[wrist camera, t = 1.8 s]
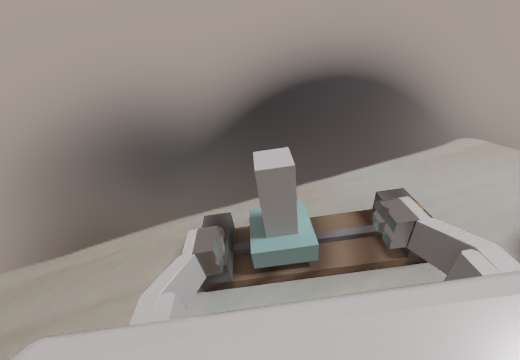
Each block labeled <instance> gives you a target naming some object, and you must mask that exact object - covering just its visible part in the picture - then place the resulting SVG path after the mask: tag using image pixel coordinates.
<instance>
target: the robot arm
mask: <svg viewBox="0 0 520 360" xmlns="http://www.w3.org/2000/svg"><path fill="white" fill-rule="evenodd" d="M374 207H375V209H376V211H375V212H374V213H373V217H372V219H373V224H374V227H375V229H376V230H377V232H379V233H381V234H383V236H382V239H383V241H384V242H385V244H386V245H387V247H388V248H389V249H395V248H403V247H407V248H408V249H409V250H411V251H412V252H414V253H415V254H417V255H418V256H420V257H421V258H423V259H424V260H426V261H427V262H429V263H430V264H432V265H433V266H435V267H436V268H438V269H439V270H441V271H442V272H444V273H445V274H447V277H446V278H445V280H444V281H441V282H434V283H427V284H420V285H413V286H406V287H398V288H391V289H384V290H377V291H370V292H363V293H356V294H349V295H341V296H334V297H327V298H320V299H313V300H306V301H299V302H292V303H284V304H277V305H270V306H263V307H256V308H249V309H241V310H234V311H227V312H220V313H213V314H206V315H198V316H190V315H189V313H188V312H187V310H186V308H187V307H188V305H189V304H190V302H191V301H192V299H193V297H194V296H195V294H196V293H197V291H198V290H199V288H200V287H201V285H202V284H203V282H204V280H205V279H206V276H211V275H216V274H222V273H223V266H224V261H223V258H222V257H223V255H224V254H225V245H224V239H223V237H222V236H221V235H220V229H219V226H212V227H204V228H198V229H190V230H189V231H188V232H187V236H186V240H185V243H184V247H183V250H182V254H181V256H178V257H177V258H176V259H175V260H174V261H173V262H172V263H171V264H170V265H169V267H168V268H167V269H166V270H165V271H164V272H163V273H162V274H161V275H160V276H159V277H158V278H157V279H156V280H155V281H154V282H153V283H152V284H151V285H150V286H149V287H148V289H147V290H146V291H145V292H144V293H143V294H142V295H141V296H140V299H139V301H138V304H137V306H136V309H135V311H134V314H133V317H132V319H131V322H130V324H129V325H126V326H119V327H112V328H105V329H98V330H91V331H83V332H76V333H69V334H61V335H54V336H47V337H42V338H39V339H36V340H34V341H32V342H31V343H29V344H28V345H27V346H25V347H24V348H23V349H21V350H20V351H19V352H17V353H16V354H15V355H14V356H12V357H11V358H10V359H9V360H520V263H519V262H518V261H516V260H515V259H514V258H513V257H512V256H511V255H509V254H508V253H507V252H506V251H505V250H503V249H502V248H501V247H500V246H499V245H497V244H495V243H493V242H490V241H488V240H485V239H483V238H481V237H478V236H476V235H474V234H471V233H469V232H466V231H464V230H462V229H459V228H457V227H455V226H452V225H450V224H447V223H445V222H443V221H440V220H438V219H435V218H432V219H431V218H430V217H429V216H428V215H427V214H426V213H425V212H424V211H423V210H422V209H421V208H420V207H419V206H418V205H417V204H416V203H415V202H414V201H413V200H412V199H411V198H410V197H408V196H406V197H400V198H394V199H388V200H382V201H377V202H376V203H375V206H374Z"/></svg>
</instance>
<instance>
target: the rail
mask: <svg viewBox="0 0 520 360" xmlns="http://www.w3.org/2000/svg"><path fill="white" fill-rule="evenodd" d="M406 196H408V197H410V198H411V199H412V200H413V201H414V202H415V203H416V204H417V205H418V206H419V207H420V208H421V209H422V210H423V211H424V212H425V213H426V214H427V215H428V216H429V217H430V218H431V219H432V218H433V217H432V216H431V215H430V214H429V213H428V212H427V211H426V210H425V209H424V208H423V207H422V206H421V205H420V204H419V203H418V202H417V201H416V200H415V199H414V198H413V197H412V196H411V195H410V194H409V193H408V192H407V191H406V190H405V189H404V188H400V189H393V190H386V191H379V192H376V195H375V200H374V204H373V209H370V210H363V211H356V212H349V213H341V214H334V215H327V216H320V217H312V218H310V221H311V224H312V226H313V229H314V232H315V235H316V238H317V241H318V244H319V256H318V260H317V261H309V262H302V263H294V264H287V265H279V266H272V267H264V268H257V269H254V265H253V261H252V257H251V245H250V226H248V227H240V228H235V227H234V223H233V220H232V216H231V213H223V214H216V215H208V216H204V221H203V225H202V228H204V227H212V226H219V229H220V235H221V236H222V237H223V239H224V245H225V254H224V255H223V257H222V258H223V261H224V266H223V273H222V274H216V275H211V276H206V279H205V280H204V282H203V284H202V287H203V289H204V291H205V292H207V291H214V290H222V289H229V288H237V287H244V286H252V285H260V284H267V283H275V282H282V281H290V280H297V279H305V278H312V277H320V276H328V275H335V274H343V273H350V272H358V271H365V270H373V269H381V268H388V267H396V266H403V265H411V264H418V263H426V262H427V261H426V260H424V259H423V258H421V257H420V256H418V255H417V254H415V253H414V252H412V251H411V250H409V249H408V248H407V247H403V248H395V249H389V248H388V247H387V245H386V244H385V242H384V241H383V239H382V236H383V234H381V233H379V232H377V230H376V229H375V227H374V224H373V219H372V217H373V213H374V212H375V211H376V209H375V207H374V206H375V203H376V202H377V201H382V200H388V199H394V198H400V197H406Z"/></svg>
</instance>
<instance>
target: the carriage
mask: <svg viewBox="0 0 520 360" xmlns="http://www.w3.org/2000/svg"><path fill="white" fill-rule="evenodd" d="M253 156H254V169H255V176H256V182H257V188H258V193H259V199H260V205H261V206H260V207H253V208H249V214H250V245H251V257H252V261H253V265H254V269H257V268H264V267H272V266H279V265H287V264H294V263H302V262H309V261H317V260H318V256H319V244H318V241H317V238H316V235H315V232H314V229H313V226H312V224H311V221H310V218H309V215H308V212H307V209H306V206H305V203H304V201H303V200H302V201H297V196H296V175H295V164H294V161H293V158H292V156H291V153H290V150H289V148H288V147H285V148H279V149H272V150H265V151H258V152H253Z"/></svg>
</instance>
